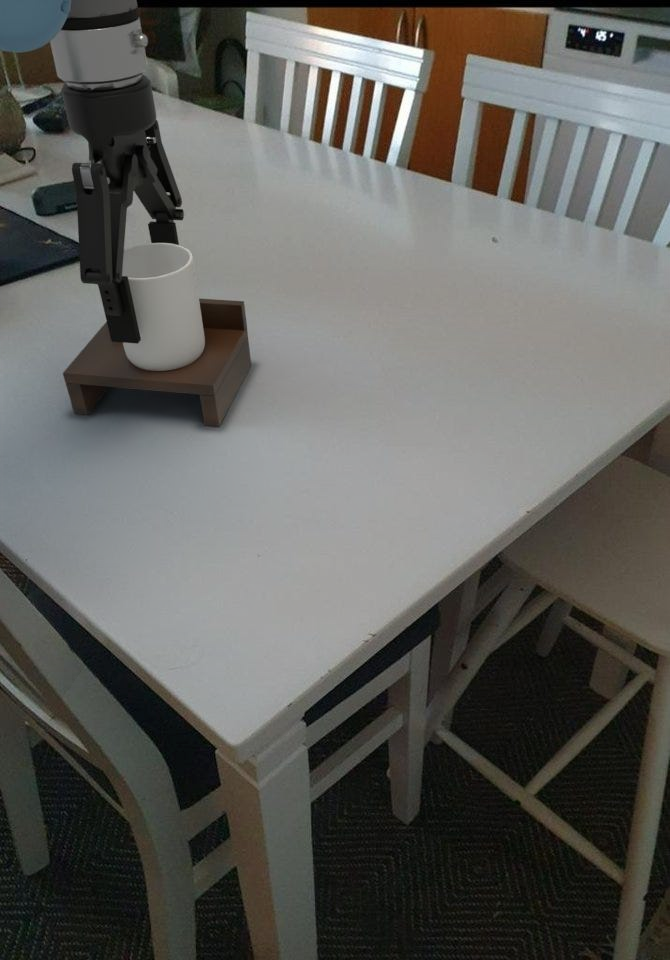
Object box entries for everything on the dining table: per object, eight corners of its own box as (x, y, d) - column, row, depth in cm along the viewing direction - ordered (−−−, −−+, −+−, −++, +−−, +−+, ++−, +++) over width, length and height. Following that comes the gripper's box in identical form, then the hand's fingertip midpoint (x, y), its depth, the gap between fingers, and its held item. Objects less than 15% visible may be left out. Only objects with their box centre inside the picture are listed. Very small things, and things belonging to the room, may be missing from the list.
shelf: (74, 413, 85) (54, 347, 80) (119, 355, 94) (104, 292, 89) (219, 427, 82) (208, 359, 77) (251, 365, 91) (244, 301, 86)
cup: (150, 382, 80) (131, 287, 74) (96, 337, 87) (74, 247, 81) (221, 353, 84) (208, 261, 77) (163, 312, 91) (147, 225, 85)
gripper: (84, 121, 59) (140, 375, 72) (193, 46, 77) (221, 261, 91) (-10, 119, 60) (62, 369, 74) (119, 45, 78) (158, 257, 92)
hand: (150, 310), depth 82 cm, fingers open, 12 cm apart
